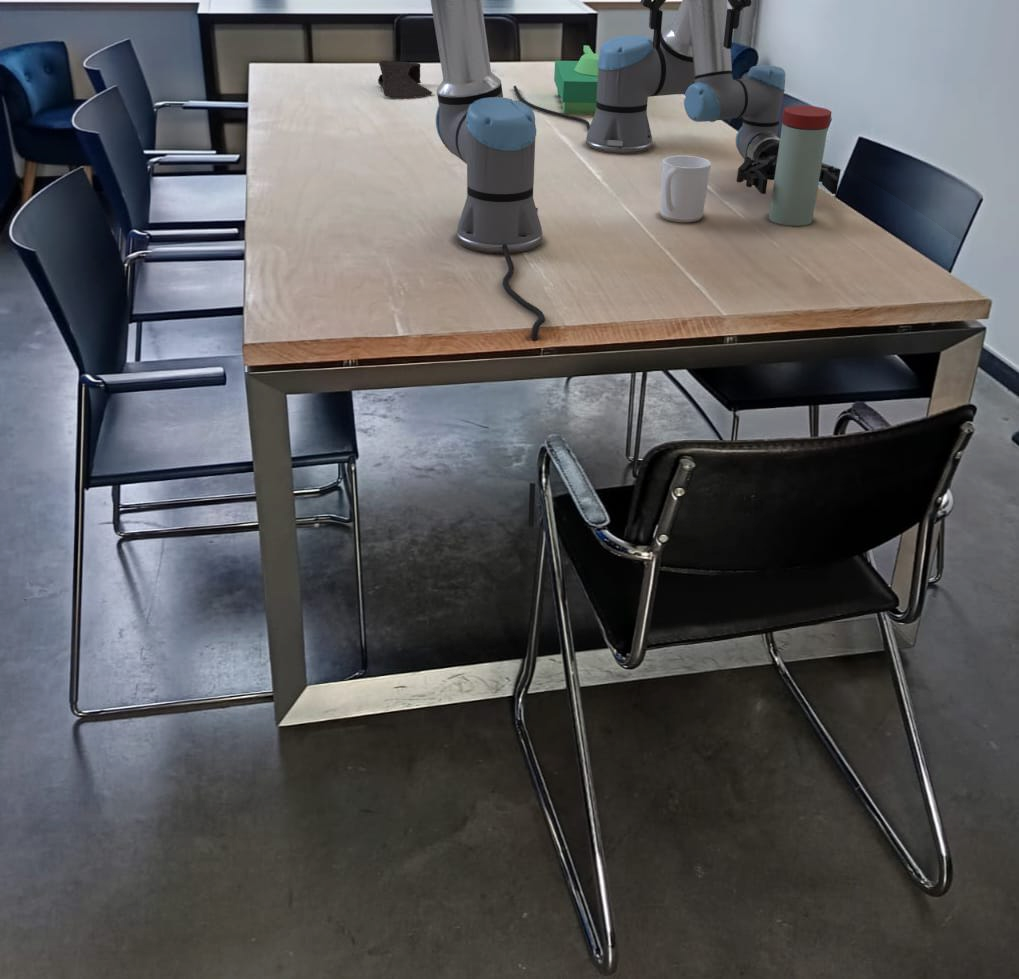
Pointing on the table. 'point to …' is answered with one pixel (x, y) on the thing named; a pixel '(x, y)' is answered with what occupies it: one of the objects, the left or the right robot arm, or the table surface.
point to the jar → (797, 175)
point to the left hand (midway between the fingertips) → (691, 48)
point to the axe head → (401, 79)
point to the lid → (806, 117)
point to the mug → (684, 188)
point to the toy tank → (578, 83)
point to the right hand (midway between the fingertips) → (800, 187)
